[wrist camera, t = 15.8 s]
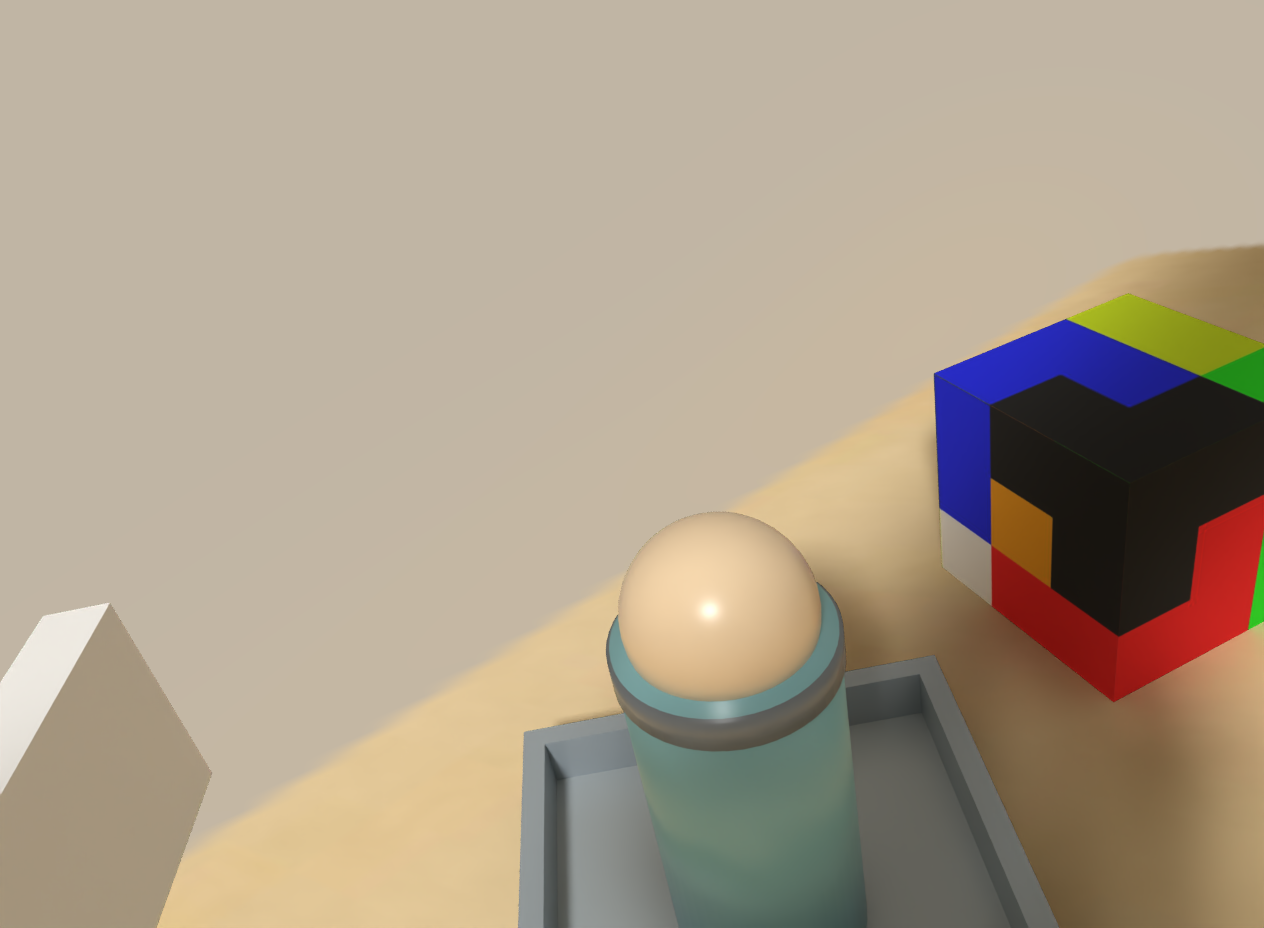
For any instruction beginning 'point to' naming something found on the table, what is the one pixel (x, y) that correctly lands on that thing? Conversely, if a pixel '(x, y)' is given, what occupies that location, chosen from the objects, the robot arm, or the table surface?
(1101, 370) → the puzzle toy
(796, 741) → the ball tube
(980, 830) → the tray
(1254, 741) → the table surface
